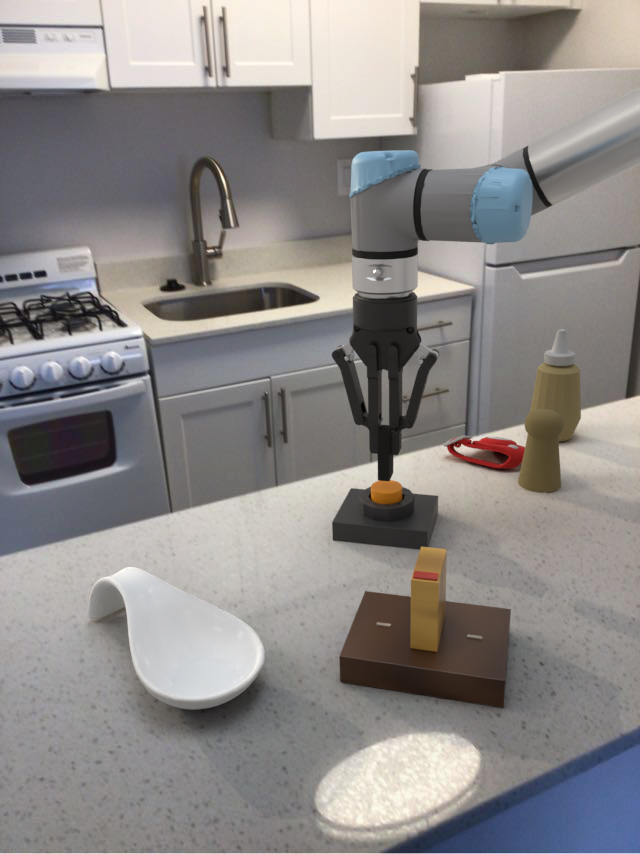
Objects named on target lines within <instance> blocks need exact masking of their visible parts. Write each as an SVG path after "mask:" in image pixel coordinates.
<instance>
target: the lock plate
mask: <svg viewBox="0 0 640 854" xmlns="http://www.w3.org/2000/svg"><path fill="white" fill-rule="evenodd" d="M511 612H512V609H511V608H505V607H497V606H490V605H489V606H488V605H483V604H482V605H481V604H473V603H472V604H471V603H464V602H458V601H457V602H456V601H449V600H446V605H445V618H444V623H443V627H442V632H441V637H440V641H439V646H438V651H437V652H434V651H427V650H420V649H413V648H411V596H409V595H400V594H392V593H383V592H378V591H377V592H376V591H369V590H365V591H364V593H363V595H362V598H361V600H360V603H359V605H358V608H357V610H356V614H355V615H354V618H353V620H352V623H351V625H350V628H349V630H348V633H347V636H346V639H345V641H344V643H343V645H342V648H341V651H340V654H339V656H338V657H339V658H338V659H339V681H340V683H345V684H350V685H357V686H364V687H371V688H377V689H383V690H390V691H395V692H402V693H409V694H414V695H421V696H426V697H434V698H439V699H445V700H451V701H452V700H453V701H459V702H463V703H465V702H466V703H470V704H477V705H483V706H491V707H497V708H502V709H503V708H504V707H505V696H506V695H505V694H506V680H507V670H508V669H507V667H508V658H509V657H508V656H509V645H510V643H509V642H510V630H511V614H512V613H511Z"/></svg>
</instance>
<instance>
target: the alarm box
mask: <svg viewBox="0 0 640 854" xmlns="http://www.w3.org/2000/svg"><path fill="white" fill-rule="evenodd" d="M346 494H347V495H346V496H345V498H344V499H343V501H342V503H341V505H340V507H339V509H338V511H337V513H336V514H335V515H334V518H333V519H332V522H331V526H332V528H331V529H332V541H334V542H344V543H351V544H352V543H354V544H361V545H370V546H371V545H372V546H379V547H381V546H382V547H390V548H399V549H400V548H401V549H407V550H408V549H409V550H419V551H420V548H421V547H429V546H430V542H431V538H432V535H433V531H434V528H435V524H436V522H437V518H438V515H439V495H433V494H425V493H424V494H422V493H414V492H412V490H411V489H409V488H406V487H405V486H402V501H400V502H398V503H394V504H378V503H376V502H373V501H372V500H371V486H369V487H367V488H365V489H364V488H354V487H351V488H350V489H349V490H348V493H346Z"/></svg>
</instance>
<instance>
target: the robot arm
mask: <svg viewBox="0 0 640 854" xmlns="http://www.w3.org/2000/svg"><path fill="white" fill-rule="evenodd" d="M638 166H640V86H638V87H636V88H634V89H633V90H631V91H629V92H627V93H625V94H623V95H621V96H619V97H618V98H616V99H613V100H611V101H610V102H607V103H606V104H604V105H602V106H600V107H598V108H596V109H594V110H593V111H591V112H588V113H587V114H585V115H583V116H581V117H579V118H576V119H575V120H574V121H572V122H570V123H568V124H566V125H563V126H562V127H560V128H559V129H557V130H554V131H552V132H551V133H548V134H547V135H545V136H543V137H541V138H539V139H537V140H535V141H534V142H532V143H530V144H528V145H527V146H525V147H522V148H520V149H518V150H516V151H513V152H512V153H510V154H508V155H506V156H505V157H503V158H501V159H498V160H497V161H495V162H493V163H490V164H485V165H483V166H477V167H471V168H447V169H446V168H445V169H432V168H431V169H430V168H429V169H428V168H421V163H420V157H419V154H418V152H416V151H415V150H413V149H412V150H411V149H410V150H409V149H406V150H403V149H401V150H397V149H396V150H395V149H394V150H373V151H371V150H370V151H361V152H359V153H357V154H356V155H355V156H353V158H352V161H351V167H350V192H349V195H348V196H349V199H350V222H351V277H352V278H351V279H352V282H351V283H352V289H353V290H354V291H355V292H356V293H354V295H353V297H352V323H353V324H352V328H353V329H352V332H351V334H350V336H349V338H348V339H349V341H347V342H345V343H344V344H343V345H341V344H340V345H338V346H337V347H336V348H335V349H334V350H333V351H332V353H331V357H332V359H333V361H334V363H335V364H336V365H337V367H338V368H339V371H340V374H341V377H342V382H343V385H344V388H345V392H346V396H347V400H348V404H349V407H350V411H351V415H352V418H353V422H354V424H355V425H357V426H362V427H365V428H367V429H368V435H369V437H368V438H369V439H368V440H369V444H368V445H369V452H370V454H374V455H375V454H376V455H377V481H390V480H392V476H393V475H394V456H399V454H400V452H401V450H402V447H403V446H402V436H403V434H402V433H403V432H402V431H403V430H405V429H408V430H409V429H412V428H413V427H414V426H415V424H416V421H417V418H418V414H419V411H420V408H421V403H422V400H423V397H424V393H425V389H426V387H427V386H426V385H427V382H428V379H429V374H430V371H431V370H432V368H433V367H434V365H435V364H436V363H437V361H438V358H439V357H440V351H439V350H438V349H436V348H433V349H431V348H430V347H428V346H427V345H425V344H424V343H423V342H422V336H421V335H420V333H419V330H418V295H417V293H415V292H414V291H415V290H416V289H417V288H418V281H419V277H418V276H419V267H418V266H419V248H418V247H419V241H421V242H430V241H431V242H432V241H434V242H435V241H437V242H457V243H458V242H460V243H461V242H462V243H484V244H486V245H495V244H500V243H518V242H520V241H522V240H523V239H524V237H525V236H526V235H527V232H528V229H529V227H530V223H531V217H532V216H534V215H536V214H539V213H540V212H542V211H545V210H547V209H549V208H550V207H552V206H554V205H557V204H559V203H561V202H563V201H565V200H567V199H569V198H571V197H573V196H576V195H578V194H580V193H582V192H584V191H586V190H588V189H591V188H593V187H595V186H597V185H599V184H602V183H604V182H606V181H608V180H610V179H613V178H614V177H616V176H619V175H621V174H623V173H625V172H628V171H630V170H631V169H634V168H636V167H638ZM354 352H355V353H354ZM355 354H356V355H357V356H358V358H359V359H360V360H361V362H362V364H363V365H364V366H365V367H366V378H367V406H366V403H365V402H366V401H365V398H364V394H363V390H362V387H361V383H360V378H359V374H358V371H357V368H356V364H355V361H354V358H355ZM415 354H417V358H416V362H417V364H418V365H419V367H418V370H417V372H416V375H415V379H414V383H413V387H412V391H411V394H410V398H409V402H408V405H407V409H406V413H405V415H403V375H404V374H403V373H404V367H405V366H406V365H407V363H408V362H409V361H410V360H411V359H412V357H413V356H414V355H415ZM383 370H384V371H387V380H388V424H382V422H383V420H384V417H383V410H382V409H383V387H382V386H383Z"/></svg>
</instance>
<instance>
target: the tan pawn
mask: <svg viewBox="0 0 640 854" xmlns="http://www.w3.org/2000/svg"><path fill="white" fill-rule="evenodd" d="M524 429H525V431H526V433H527V437H526V441H525V446H524V447H525V451H524V455H523V460H522V463H521V464H520V470H519V475H518V479H517V483H518V486H519V487H520V488H522V489H524V490H526V491H530V492H533V493H541V494H542V493H545V494H550V493H554V492H557V491H559V490H560V489H561V488H562V476H561V475H562V473H561V459H560V458H561V457H560V442H559V441H558V436H559V435H560V433H561V432H562V429H563V419H562V417H561V415H560V414H559V413H557V412H555V411H552V410H546V409H539V410H534V411H531V412H530V411H529V412H528V414H527V415H526V417H525V419H524Z"/></svg>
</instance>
